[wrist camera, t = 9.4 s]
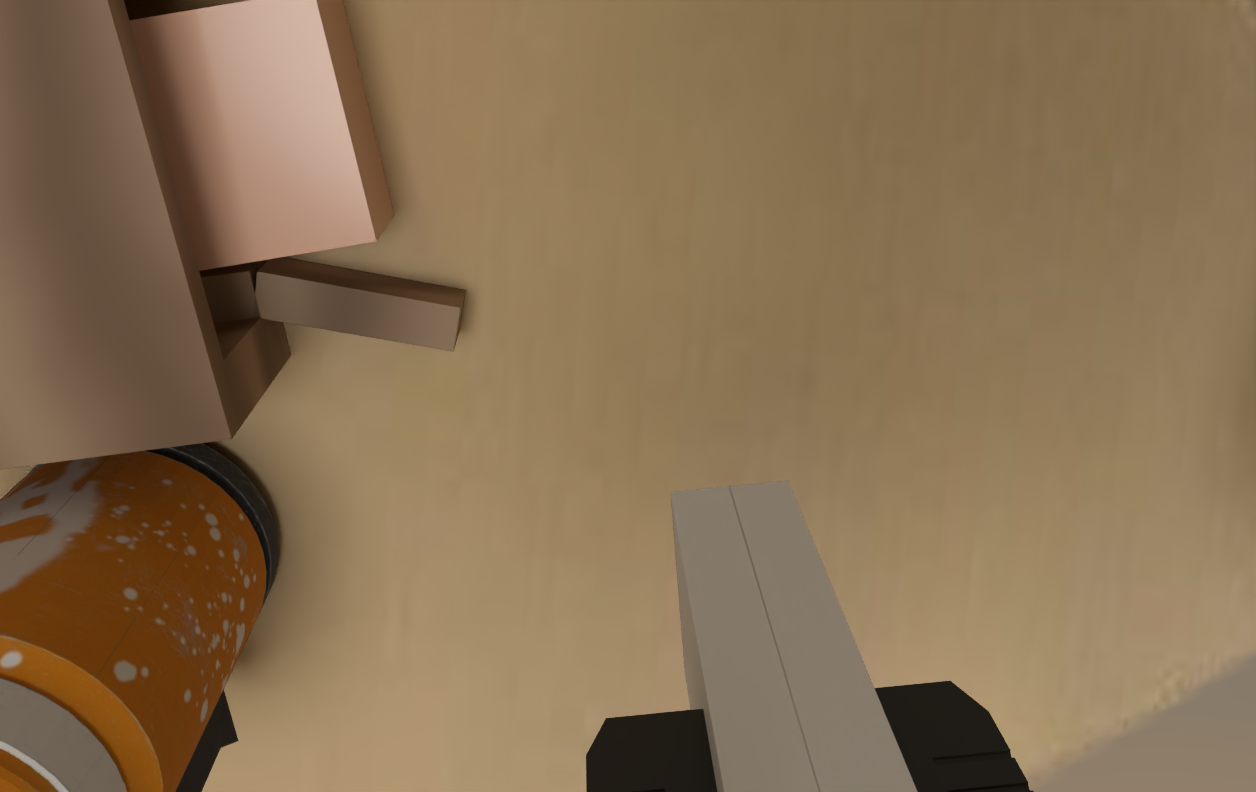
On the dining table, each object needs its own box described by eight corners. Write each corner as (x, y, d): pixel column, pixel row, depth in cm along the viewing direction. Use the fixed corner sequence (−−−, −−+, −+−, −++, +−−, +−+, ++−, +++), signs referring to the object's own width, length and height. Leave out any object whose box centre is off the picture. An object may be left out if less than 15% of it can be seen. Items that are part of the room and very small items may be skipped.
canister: (200, 379, 36) (-177, 805, 18) (355, 628, 40) (179, 1188, 22) (-27, 476, 37) (-613, 981, 19) (147, 711, 41) (-192, 1318, 23)
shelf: (376, -200, 30) (326, -247, 24) (473, 331, 36) (453, 410, 30) (-408, -103, 30) (-675, -122, 24) (-180, 416, 36) (-343, 513, 30)
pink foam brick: (341, -13, 32) (313, -11, 29) (395, 212, 35) (376, 241, 31) (-112, 62, 32) (-199, 75, 29) (-24, 282, 35) (-93, 319, 31)
